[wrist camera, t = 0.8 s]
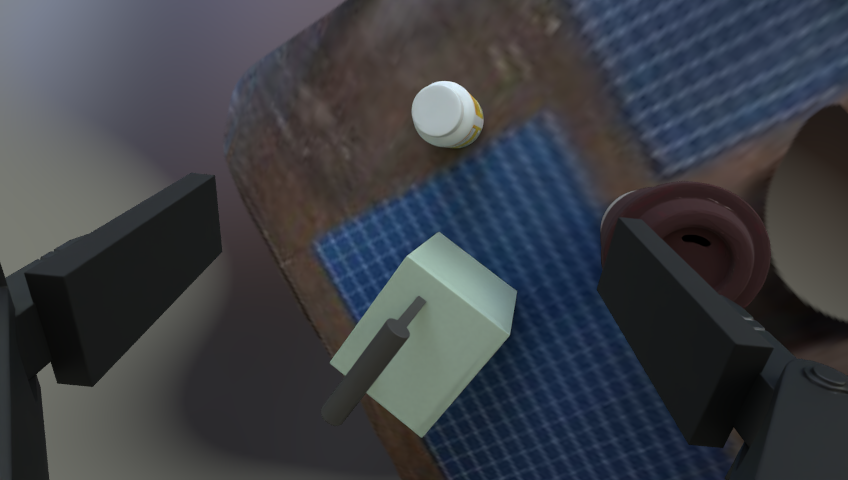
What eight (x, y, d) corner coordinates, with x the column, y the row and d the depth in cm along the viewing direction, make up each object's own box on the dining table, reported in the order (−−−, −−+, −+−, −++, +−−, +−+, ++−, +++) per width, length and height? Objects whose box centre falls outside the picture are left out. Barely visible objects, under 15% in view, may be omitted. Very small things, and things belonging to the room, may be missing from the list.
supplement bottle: (478, 152, 45) (462, 152, 36) (425, 143, 47) (397, 140, 37) (489, 96, 44) (476, 80, 35) (435, 87, 45) (408, 70, 36)
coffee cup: (632, 300, 44) (677, 369, 30) (562, 223, 45) (573, 255, 30) (726, 233, 42) (824, 274, 27) (650, 151, 42) (708, 149, 28)
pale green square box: (502, 383, 28) (372, 281, 29) (393, 506, 31) (279, 412, 32) (517, 291, 47) (438, 231, 48) (448, 373, 50) (376, 316, 51)
